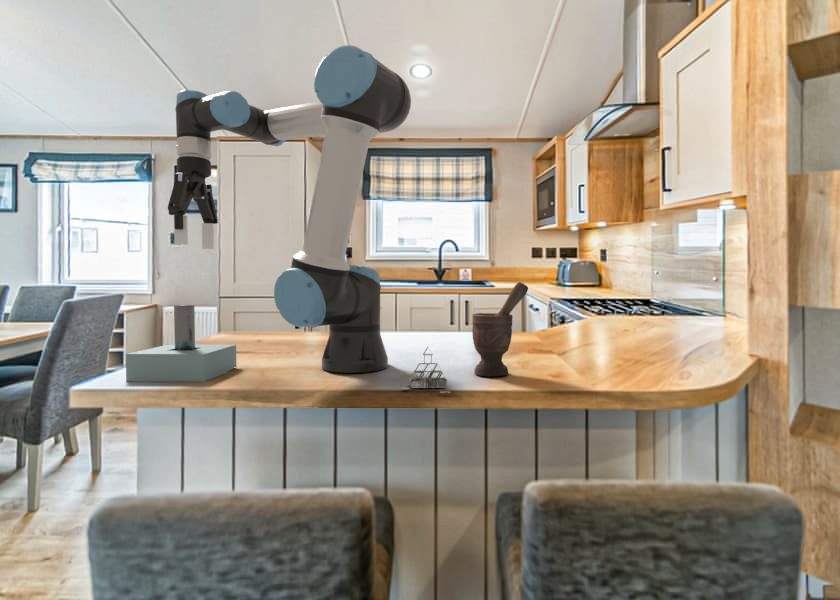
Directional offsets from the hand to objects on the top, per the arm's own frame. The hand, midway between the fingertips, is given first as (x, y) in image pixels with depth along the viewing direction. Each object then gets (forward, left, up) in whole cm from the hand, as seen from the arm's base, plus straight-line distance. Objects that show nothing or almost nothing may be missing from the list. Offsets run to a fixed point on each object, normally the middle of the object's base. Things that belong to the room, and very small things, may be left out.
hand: (195, 246), depth 119 cm
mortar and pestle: (-73, -5, -29) cm, 79 cm away
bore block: (-7, +12, -29) cm, 32 cm away
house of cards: (-61, +12, -29) cm, 68 cm away
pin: (-7, +12, -28) cm, 31 cm away
